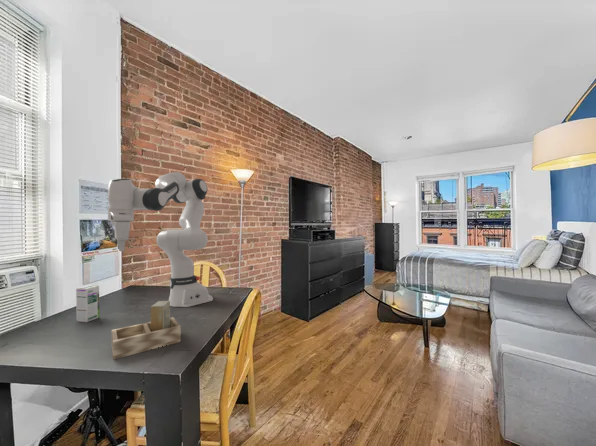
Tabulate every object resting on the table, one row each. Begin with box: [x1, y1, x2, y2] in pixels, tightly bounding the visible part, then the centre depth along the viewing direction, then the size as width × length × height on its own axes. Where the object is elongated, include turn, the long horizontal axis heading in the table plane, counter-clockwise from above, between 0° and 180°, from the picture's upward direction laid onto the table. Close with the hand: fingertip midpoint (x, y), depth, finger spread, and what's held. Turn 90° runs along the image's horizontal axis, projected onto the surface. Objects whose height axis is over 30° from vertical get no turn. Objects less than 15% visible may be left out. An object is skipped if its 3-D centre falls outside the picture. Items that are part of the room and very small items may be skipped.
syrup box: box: [75, 284, 100, 323], centre depth 113 cm, size 6×6×14 cm
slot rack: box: [111, 316, 182, 360], centre depth 90 cm, size 20×11×6 cm, turn 128°
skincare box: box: [150, 300, 171, 332], centre depth 93 cm, size 6×4×12 cm
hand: (121, 250), depth 107 cm, fingers open, 8 cm apart
